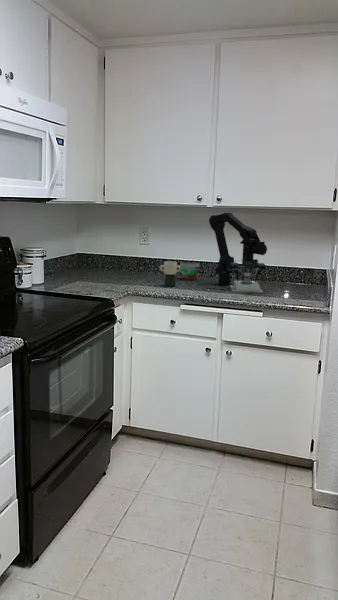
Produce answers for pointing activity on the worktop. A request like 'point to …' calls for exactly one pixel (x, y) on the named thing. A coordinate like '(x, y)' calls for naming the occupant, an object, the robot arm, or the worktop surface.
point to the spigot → (246, 278)
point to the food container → (189, 271)
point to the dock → (246, 287)
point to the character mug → (170, 272)
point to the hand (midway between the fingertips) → (246, 282)
